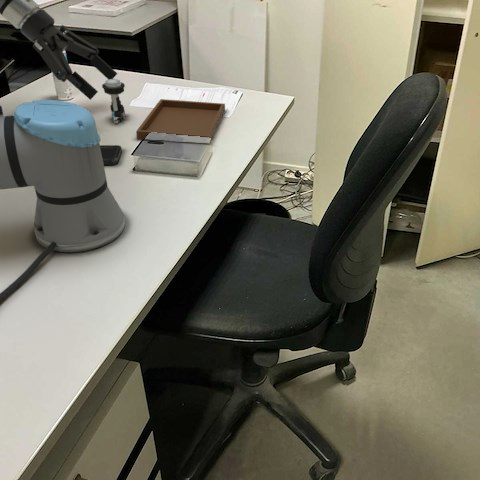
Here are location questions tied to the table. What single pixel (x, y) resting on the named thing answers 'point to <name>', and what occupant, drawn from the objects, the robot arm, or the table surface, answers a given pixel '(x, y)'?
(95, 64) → the robot arm
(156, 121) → the tray
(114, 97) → the push button
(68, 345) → the table surface
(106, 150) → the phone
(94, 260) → the table surface
